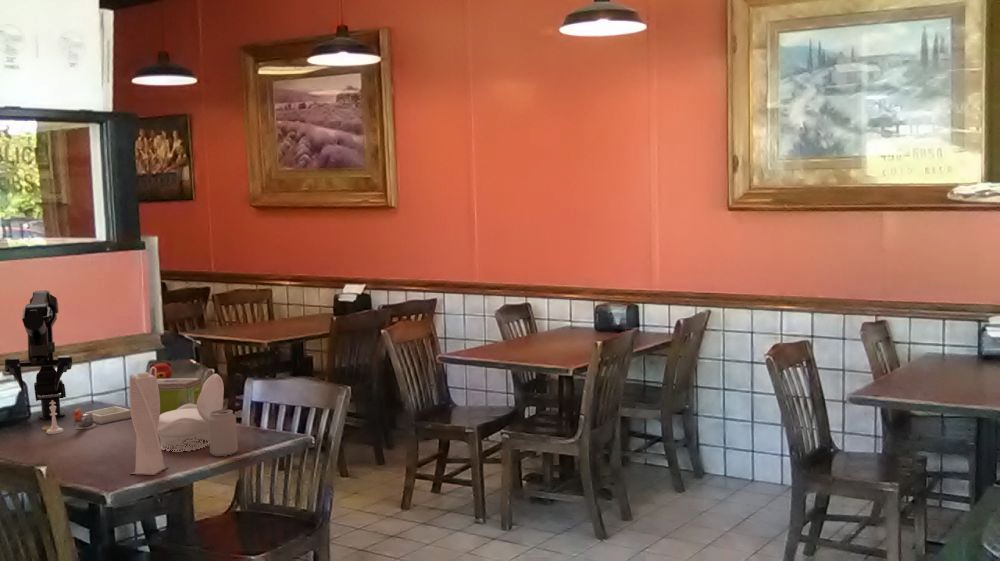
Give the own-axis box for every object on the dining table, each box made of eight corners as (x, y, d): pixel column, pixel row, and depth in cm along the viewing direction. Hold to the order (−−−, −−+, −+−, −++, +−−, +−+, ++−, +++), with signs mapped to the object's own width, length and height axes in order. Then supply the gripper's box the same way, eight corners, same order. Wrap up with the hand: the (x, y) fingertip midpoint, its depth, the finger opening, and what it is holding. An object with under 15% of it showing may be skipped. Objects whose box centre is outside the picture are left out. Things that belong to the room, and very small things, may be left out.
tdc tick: (53, 428, 328) (53, 425, 328) (52, 429, 327) (52, 426, 327) (43, 429, 328) (43, 426, 328) (42, 430, 327) (42, 427, 327)
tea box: (205, 423, 328) (202, 376, 326) (190, 431, 318) (187, 383, 316) (161, 423, 330) (157, 377, 329) (145, 430, 320) (141, 383, 319)
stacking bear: (144, 422, 332) (140, 367, 331) (148, 415, 342) (145, 361, 341) (180, 419, 335) (176, 364, 333) (183, 412, 345) (179, 359, 343)
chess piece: (49, 430, 326) (46, 399, 325) (65, 429, 326) (63, 398, 325) (44, 434, 321) (41, 402, 320) (60, 433, 321) (57, 401, 320)
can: (242, 450, 292) (239, 408, 291) (232, 457, 285) (229, 414, 283) (216, 450, 293) (213, 408, 292) (206, 457, 285) (203, 414, 284)
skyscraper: (173, 468, 276) (165, 364, 273) (157, 477, 268) (149, 369, 265) (144, 467, 278) (136, 364, 275) (127, 476, 270) (119, 369, 267)
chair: (160, 439, 308) (155, 373, 306) (228, 433, 312) (224, 368, 310) (152, 456, 289) (146, 385, 287) (225, 450, 293) (220, 380, 291)
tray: (85, 419, 339) (85, 412, 339) (116, 413, 347) (115, 406, 347) (100, 424, 332) (100, 416, 332) (132, 417, 340) (131, 410, 339)
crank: (80, 423, 331) (78, 403, 330) (94, 422, 331) (93, 402, 330) (69, 432, 318) (67, 411, 318) (84, 432, 319) (82, 410, 318)
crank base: (71, 427, 329) (71, 426, 329) (91, 423, 333) (91, 422, 333) (80, 430, 324) (80, 429, 324) (100, 426, 329) (100, 425, 329)
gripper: (4, 333, 311) (5, 382, 305) (72, 331, 319) (74, 379, 313) (4, 347, 320) (5, 395, 314) (69, 345, 328) (71, 391, 322)
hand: (39, 390), depth 316 cm, fingers open, 9 cm apart
